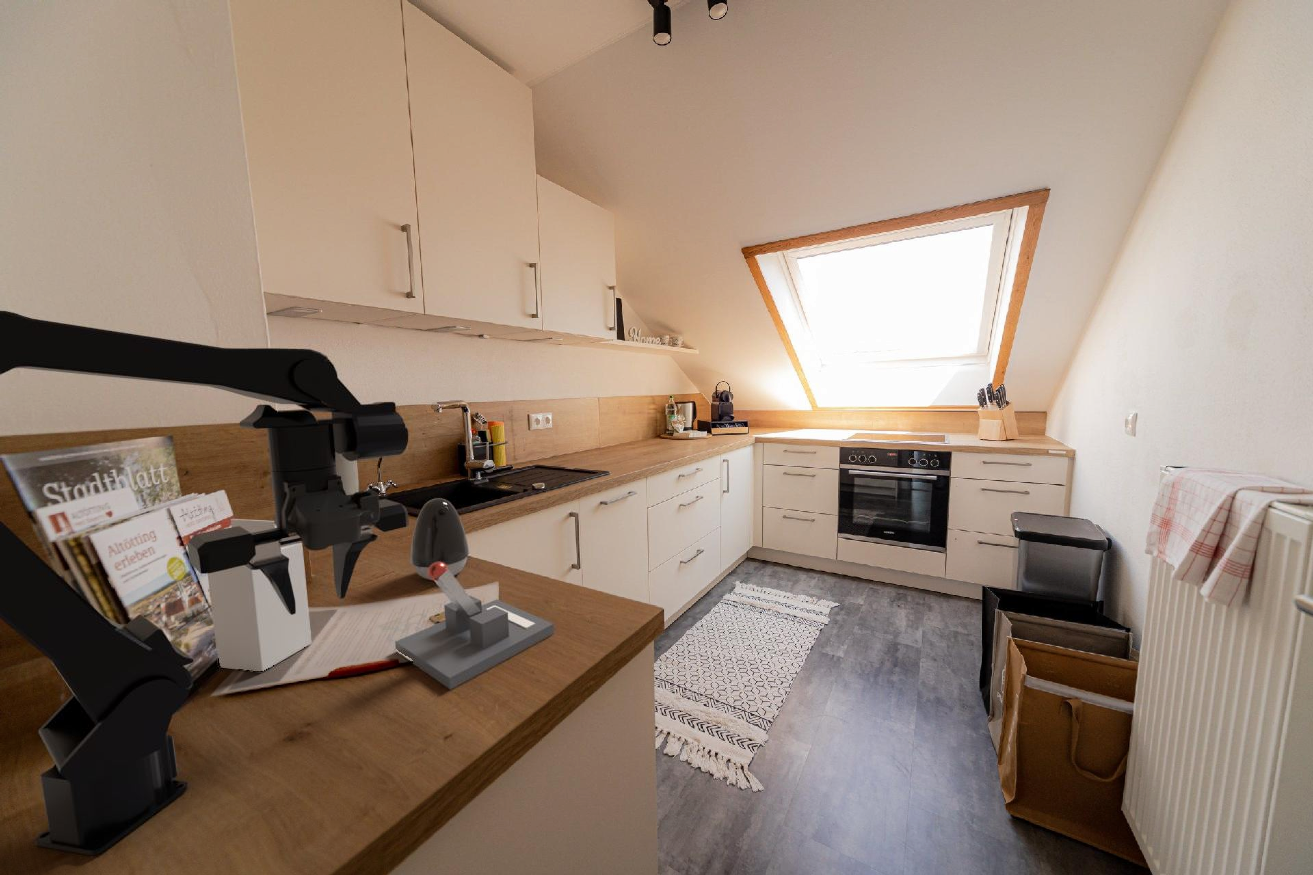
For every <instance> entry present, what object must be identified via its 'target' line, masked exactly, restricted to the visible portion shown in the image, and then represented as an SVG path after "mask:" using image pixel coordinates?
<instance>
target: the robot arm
mask: <svg viewBox="0 0 1313 875" xmlns="http://www.w3.org/2000/svg"><path fill="white" fill-rule="evenodd" d="M13 369H14V370H15V369H28V370H37V371H47V372H57V373H59V372H60V373H65V374H66V373H69V374H76V375H77V374H78V375H88V376H89V375H90V376H96V377H97V376H98V377H109V378H118V379H119V378H120V379H129V380H138V381H141V380H142V381H151V382H160V383H168V384H169V383H171V384H181V385H189V386H190V385H191V386H199V387H200V386H201V387H209V388H214V389H217V390H222V391H226V392H230V393H233V394H237V395H241V396H244V397H248V398H252V399H255V400H256V399H257V400H259V401H266V402H269V403H275V404H278V405H295V406H298V407H300V408H302V409H303V410H302V409H299V410H277V409H275V408H274V407H273V406H271V404H258V405H256V407H255V409H254V410H253V411H252V412H251V413H250V414H249V415H247V416H246V417H244V419H242V420H240V421H239V425H238V426H240V427H241V428H243V429H255V430H259V429H260V430H261V429H262V430H263V429H266V435H267V436H266V437H267V445H268V455H269V456H268V457H269V465H270V474H271V477H270V476H269V481H270V482H269V484H270V487H271V488H272V495H273V505H274V514H273V521H274V524H275V525H276V527H277V528H274V529H269V530H264V531H259V532H254V533H250V532H248V531H247V530H245V529H243V528H242V527H240V526H237V527H231V526H230V527H228V528H221V529H216V530H210V531H205V532H199V533H195V534H193V536H192V537H191V538H190V539H189V540H188V542H187V550H188V551H187V552H188V560H189V563H190V565H192V567H193V568H194V569H196V571H198V572H199V573H200V575H202V574H208V573H214V572H218V571H222V570H226V569H230V568H235V567H239V566H243V565H245V566H247V567H248V568H249V569H251V570H259V569H260V570H261V571H262V573H263V574H264V575H265V576H266V577H267V579H268V580H269V582H270V583H271V585H272V586H273V588H274V590H275V591H276V593H277V595H278V596H279V598H280V600H281V601H282V603H283V604H284V606H285V608H286V609H287V611H288V612H289V613H290V614H291V615H293V614H295V613H296V604H295V597H294V593H293V588H292V584H291V580H290V575H289V571H288V566H289V558H288V557H286V556H284V555H283V554H281V546H280V545H285V544H289V543H294V542H298V541H300V542H302V544H303V546H304V547H305V548H306V549H307V550H309V551H314V552H315V551H322V550H326V549H327V548H328V547H331V548H332V561H333V562H332V565H333V578H334V579H333V580H334V587H335V591H336V596H337V599H340V600H342V599H344V598H346V595H347V592H348V588H349V586H350V584H351V583H350V582H351V579H352V577H353V574H354V570H355V566H356V564H357V561H358V560H359V558H360V555H361V554H362V552H363V550H364V549H365V548H366V547H367V546H368V544H370V543H372V542H376V541H377V540H378V535H377V534H375V533H373V527H374V528H376V529H378V530H379V531H381V532H383V533H386V532H390V531H394V530H400V529H404V528H406V527H408V526H409V525H410V523H409V512H408V510H407V508H406V506H405V505H403V503H400V502H396V501H393V500H389V499H387V498H384V499H380V498H379V494H378V493H377V492H376V491H375V489H368V490H361V491H359V492H356V493H354V494H351V495H346V493H345V491H344V489H343V482H342V480H341V476H340V475H337V467H336V455H335V452H337V453H338V454H342V456H343V457H344V458H345V459H346V460H348V461H364V460H365V461H366V460H369V459H372V460H373V459H378V458H380V459H381V458H387V457H395V456H400V455H402V454H403V453H404V452H405V451H406V449H407V446H408V443H409V430H408V428H407V427H406V424H405V421H404V418H403V417H402V416H401V414H399V412H397V408H396V402H394V401H377V402H373V403H361V402H360V401H359V400H358V399H357V397H356V396H355V395H353V393H352V392H351V391H350V390H349V389H348V388H347V386H346V385H345V384H344V383H343V382H342V381H341V380H340V379H339V378H338V371H337V370H336V367H335V364H334V363H333V362H331V360H330V359H329V358H328V356H327V355H326V354H324V353H323V352H321V351H317V350H314V349H311V348H280V347H279V348H276V347H275V348H274V347H270V348H269V347H268V348H267V347H265V348H264V347H260V348H259V347H257V348H254V347H253V348H252V347H251V348H250V347H248V348H241V347H240V348H238V347H237V348H236V347H235V348H232V347H220V346H213V345H207V344H200V343H194V342H187V341H181V340H175V339H167V338H161V337H155V336H154V337H153V336H149V335H147V336H146V335H141V334H137V333H136V334H135V333H127V332H121V331H115V330H110V329H108V330H107V329H103V328H96V327H90V326H84V325H76V324H71V323H70V324H68V323H63V322H56V321H49V320H43V319H37V318H31V317H29V316H25V315H21V314H20V313H16V312H12V311H7V310H0V376H1V375H3V374H5V373H7V372H10V371H11V370H13ZM312 412H313V413H331V417H330V418H329V417H326V418H316V417H315V416H314V414H313V413H312ZM0 620H1V621H3V622H4V624H6V625H7V626H9V627H10V628H11V629H12V630H13V631H15V632H16V633H17V634H19V636H21V637H22V638H23V639H25V641H27V642H28V643H29V644H31V645H32V646H33V647H34V648H35V649H36V650H38V651H39V652H41V654H42V655H44V656H45V657H46V658H47V659H49V661H51V664H52V665H53V666H54V667H55V669H56V671H57V672H58V674H59V675H60V676H61V678H62V680H63V681H64V682H65V683H66V685H67V687H68V688H69V690H70V691H71V693H72V695H70V697H69V698H68V699H67V700H65V702H64V703H63V704H62V705H61V706H60V707H59V708H58V709H57V710H56V711H55V712H54V713H53V714H52V715H51V716H50V717H49V718H48V719H47V720H46V721H45V722H44V723H43V725H41V727H40V728H39V729H38V732H37V733H38V734H39V736H40V738H41V740H42V742H43V744H44V745H45V747H46V750H47V752H48V753H49V755H50V757H51V759H52V760H53V763H54V765H53V766H52V767H51V768H50V769H48V770H46V771H44V772H42V773H41V774H40V776H39V777H40V783H41V790H42V795H43V801H44V808H45V813H46V820H47V826H48V828H47V829H46V830H45V831H43V832H42V833H39V835H37V836H35V838H34V844H35V846H38V847H42V848H43V847H44V848H50V849H53V850H54V849H55V850H59V851H60V850H61V851H66V852H72V853H77V854H82V855H88V856H97V855H100V854H101V853H103V852H105V851H107V850H108V849H109V848H110V847H112V846H113V845H115V843H118V841H120V840H121V839H122V838H124V837H125V836H127V835H128V834H130V833H131V832H132V831H134V830H135V829H137V827H139V826H140V825H142V824H143V823H144V822H145V821H147V820H148V819H150V818H151V817H152V816H154V815H155V814H156V813H157V812H159V811H160V810H162V809H163V808H165V807H166V806H167V805H169V804H170V803H172V802H173V801H174V800H176V799H177V798H178V797H179V796H180V795H182V794H183V793H185V792H186V791H187V790H188V789H189V783H188V781H183V780H176V778H177V777H178V774H179V771H178V764H177V758H176V757H177V756H176V750H175V749H176V748H175V741H174V735H171V734H168V730H169V727H170V724H171V720H172V718H173V715H175V714H176V712H178V711H179V710H180V709H181V707H182V706H183V704H185V702H186V700H187V699H188V697H189V695H190V692H191V690H192V689H191V688H192V687H193V686H194V681H193V676H192V674H191V673H190V672H189V670H188V668H186V667H185V666H187V665H191V664H192V663H193V662H194V661H195V660H194V659H193V658H192V657H191V656H189V654H187V653H186V652H185V651H183V650H182V649H180V648H179V647H178V646H176V644H175V643H173V642H172V641H170V640H169V638H168V636H167V635H166V633H165V632H164V630H163V629H162V628H160V627H159V626H157V625H156V624H155V623H153V622H152V621H151V620H149V619H148V618H147V617H146V616H144V615H143V614H138V615H137V616H135V617H133V619H131V620H130V621H129V622H128V623H126V624H125V625H121V624H119V623H118V622H116V621H114V620H112V619H110V618H108V617H106V616H104V615H102V614H101V613H100V612H99V611H98V610H97V609H96V608H95V607H93V605H91V603H89V602H88V601H87V600H86V599H85V598H84V597H83V596H82V595H81V594H80V593H79V592H77V591H76V590H75V589H74V588H73V587H72V585H70V584H69V583H68V582H67V581H66V580H65V579H63V577H61V576H60V574H59V573H57V572H56V571H55V569H53V568H52V567H51V566H50V565H48V563H46V562H45V561H44V560H43V559H42V558H41V557H40V556H39V555H38V554H37V552H35V551H33V550H32V548H31V547H29V546H28V545H27V544H26V543H25V542H24V541H23V540H22V539H21V538H19V537H18V535H17V534H16V533H14V532H13V531H12V530H11V529H10V528H9V527H8V526H7V525H5V524H4V522H3V521H1V520H0ZM174 779H175V780H174Z"/></svg>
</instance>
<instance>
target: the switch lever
mask: <svg viewBox="0 0 1313 875" xmlns="http://www.w3.org/2000/svg"><path fill="white" fill-rule="evenodd" d="M428 576H429V577H430V578H431V579H432V580H431V581H434V582H435V583H436V585H437V586H438V587H439V589H440V590H441V591H442V592H443V593H444V595H445V596H446V598H448V600H449V601H450V603H453V605H454V606H455V607H456V608H457V609H458V611H459V612H460V613H461V614H462V616H463V617H464V618H465V619H466V621H468V622H469V618H470V617H472V616H475V615H477V614H479V613H482V612H481V611H480V609H479V608H478V607H477V605H476V604H475V603H474V602H473V600H472V599H471V598H470V596H471V595H469V594H468V593H467V592H466V590H465V588H464V587H463V586H462V585H461V583H460V582H459V581H458V579H456V577H455V575H454V576H453V575H452V573H451V572H450V571H449V569H448V567H447V565H446V564H445V563H443V562H435V563H433V564H431V565H430V567H429V569H428Z"/></svg>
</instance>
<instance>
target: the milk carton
mask: <svg viewBox="0 0 1313 875" xmlns="http://www.w3.org/2000/svg"><path fill="white" fill-rule="evenodd" d="M230 525H231V526H230V528H231V527H237V526H240V527H242V528H243V529H245V530H247V531H248V532H250V533H254V532H259V531H264V530H269V529H274V528H277V527H276V524H274V520H262V519H261V520H260V519H259V520H258V519H241V518H240V519H239V518H231V519H230ZM280 546H281V554H283V555H284V556H286V557H288V558H289V566H288V571H289V575H290V580H291V584H292V588H293V593H294V597H295V604H296V613H295V614H293V615H291V614H290V613H289V612H288V611H287V609H286V608H285V606H284V604H283V603H282V601H281V600H280V598H279V596H278V595H277V593H276V591H275V590H274V588H273V586H272V585H271V583H270V582H269V580H268V579H267V577H266V576H265V575H264V574H263V573H262V571H261V570H260V569H259V570H251V569H249V568H248V567H247V566H245V565H243V566H239V567H235V568H230V569H226V570H222V571H218V572H214V573H207V581H208V589H209V599H210V605H211V612H212V613H211V614H212V615H211V616H212V623H213V630H214V632H213V633H214V641H215V648H216V655H217V654H218V658H219V663H220V666H221V667H220V668H224V669H229V670H230V669H231V670H238V669H244V670H243V671H246V670H250V671H249V672H253V671H263V672H265V671H267V670H268V668H269V669H270V668H272V667H274V666H276V665H277V664H279V663H280V662H282V661H284V660H287V658H289V657H291V656H292V655H294V654H296V653H298V652H300V651H301V650H303V649H305V648H306V647H308V646H310V645H312V642H313V641H312V633H311V623H310V622H311V621H310V612H309V602H308V601H309V600H308V592H307V580H306V568H305V561H304V560H305V558H304V549H303V541H298V542H294V543H289V544H285V545H280ZM304 647H305V648H304ZM218 658H217V659H218ZM273 665H274V666H273ZM245 669H246V670H245ZM266 669H267V670H266ZM251 670H253V671H251ZM264 670H265V671H264Z"/></svg>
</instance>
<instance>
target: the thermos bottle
mask: <svg viewBox="0 0 1313 875" xmlns="http://www.w3.org/2000/svg"><path fill="white" fill-rule="evenodd" d="M335 455H336V467H337V475H340V476H341V480H342V482H343V489H344V491H345V493H346V495H351V494H354V493H356V492H360V491H359V490H360V489H359V487H360V486H359V472H358V462H357V461H358V460H357V461H348V460H346V459H345V458H344V457H343V456H342V454H338V453H337V452H335Z"/></svg>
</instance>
